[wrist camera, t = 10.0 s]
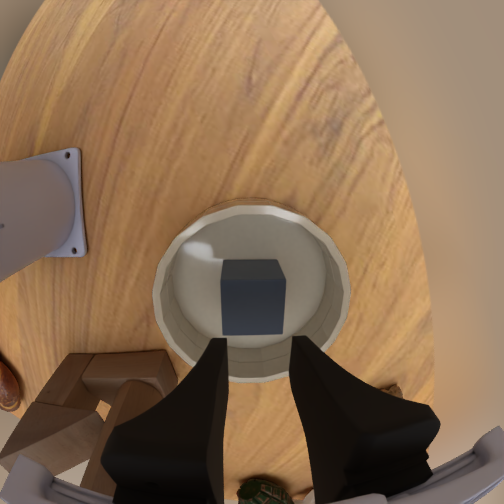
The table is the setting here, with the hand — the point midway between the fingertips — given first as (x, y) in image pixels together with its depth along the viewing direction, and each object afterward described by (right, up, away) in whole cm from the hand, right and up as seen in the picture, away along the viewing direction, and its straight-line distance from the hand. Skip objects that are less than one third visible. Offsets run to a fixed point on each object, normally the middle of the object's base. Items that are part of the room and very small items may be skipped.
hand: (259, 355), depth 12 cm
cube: (0, +2, +8) cm, 8 cm away
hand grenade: (-1, -25, +14) cm, 29 cm away
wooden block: (-12, -6, +10) cm, 17 cm away
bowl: (0, +2, +8) cm, 8 cm away
